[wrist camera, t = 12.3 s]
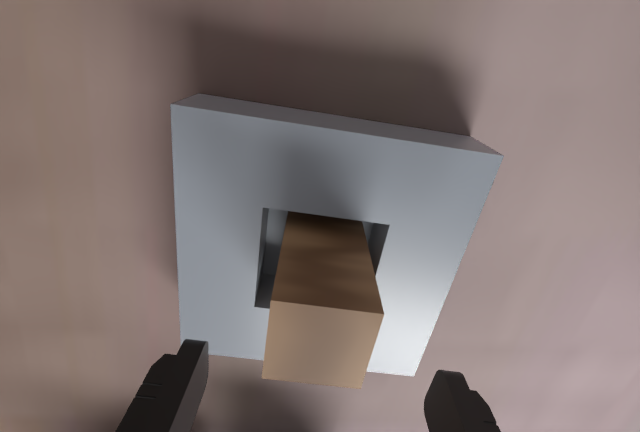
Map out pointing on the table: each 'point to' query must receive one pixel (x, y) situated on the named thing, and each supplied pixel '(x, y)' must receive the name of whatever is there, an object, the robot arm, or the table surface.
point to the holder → (319, 199)
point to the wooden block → (322, 304)
